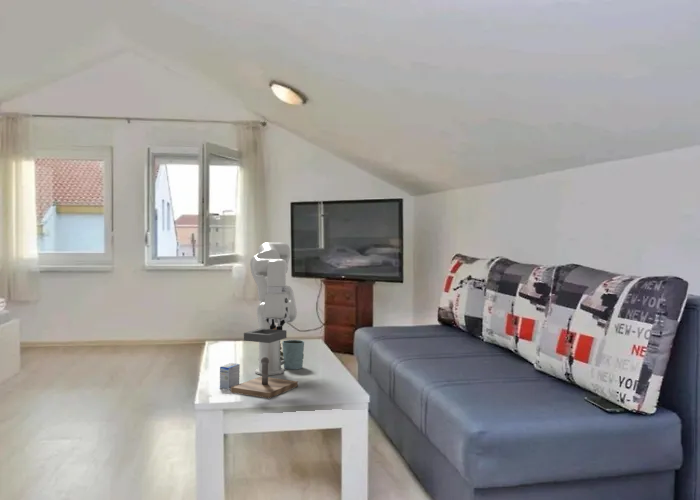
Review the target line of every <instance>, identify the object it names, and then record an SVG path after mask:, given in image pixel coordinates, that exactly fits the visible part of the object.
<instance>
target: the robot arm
mask: <svg viewBox="0 0 700 500" xmlns="http://www.w3.org/2000/svg"><path fill="white" fill-rule="evenodd" d="M257 251H258V252H257V254H255V255H253V256H252V257H251V258H250V262H249V266H250V272H251V276H252V279H254V281H255V283H256V287H257V296H258V302H259V303H258V305H257V307H256V316H257V324H258V329H261V328H265V329H274V328H276V329H277V330H283V327H284V325H285V324H286V323H292V322H295V320H296V319H297V316H298V315H297V313H298V312H297V305H296V300H295V295H294V291H293V289H292V287H291V286H290V285H287V284H286V283H287V282H286V281H287V280H286V279H287V278H286V277H287V276H286V274H287V273H288V271H289V268H288V265H289V262H290V258H291V248H290V245H289V244H288V243H286V242H267V241H266V242H263V243H262V244H260V245H259V247H258V250H257ZM276 324H277V325H276ZM280 344H281V340H278V341H275V342H271V343H263V342H258V368H256V369H255V370H254V373H255V374H256V375H260V376H262V363H261V359H262V358H263V357H267V358H268V359H269V363H268V376H275V375H281V374H283V373H284V372H285V371H284V369H285V368H284V367H283V368H282V365H283V366H284V364H285V361H284V359H283V360H281V352H280V351H281V350H280Z"/></svg>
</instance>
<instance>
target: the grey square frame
mask: <svg viewBox="0 0 700 500" xmlns="http://www.w3.org/2000/svg"><path fill="white" fill-rule="evenodd" d="M284 339H287V329H286V330H285V329H282V330H277V329H276V328H274V329H265V328H261V329H259V328H258V329H253V330H250V331H246V332H244V333H243V341H245V342H253V343H254V342H255V343H259V342H263V343H271V342H275V341H278V340H280V341H281V340H284Z"/></svg>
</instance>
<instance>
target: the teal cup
mask: <svg viewBox="0 0 700 500" xmlns="http://www.w3.org/2000/svg"><path fill="white" fill-rule="evenodd" d="M281 346H282V354H283V355H282V357H283V360H284V361H285V364H283V369H287V370H301V369H302V368H303V363H304V360H303V359H304V352H305V351H304V349H305V341H304V340H300V339H299V340H298V339H287V340H283V341H282V342H281Z"/></svg>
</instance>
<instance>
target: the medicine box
mask: <svg viewBox="0 0 700 500" xmlns="http://www.w3.org/2000/svg"><path fill="white" fill-rule="evenodd" d="M240 367H241V364H239V363H237V362H236V363H234V362H230V363H227V364H224V365H221V366H220V367H219V388H220V389H225V390H231V387H233V386H235V385H238V384H240Z"/></svg>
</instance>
